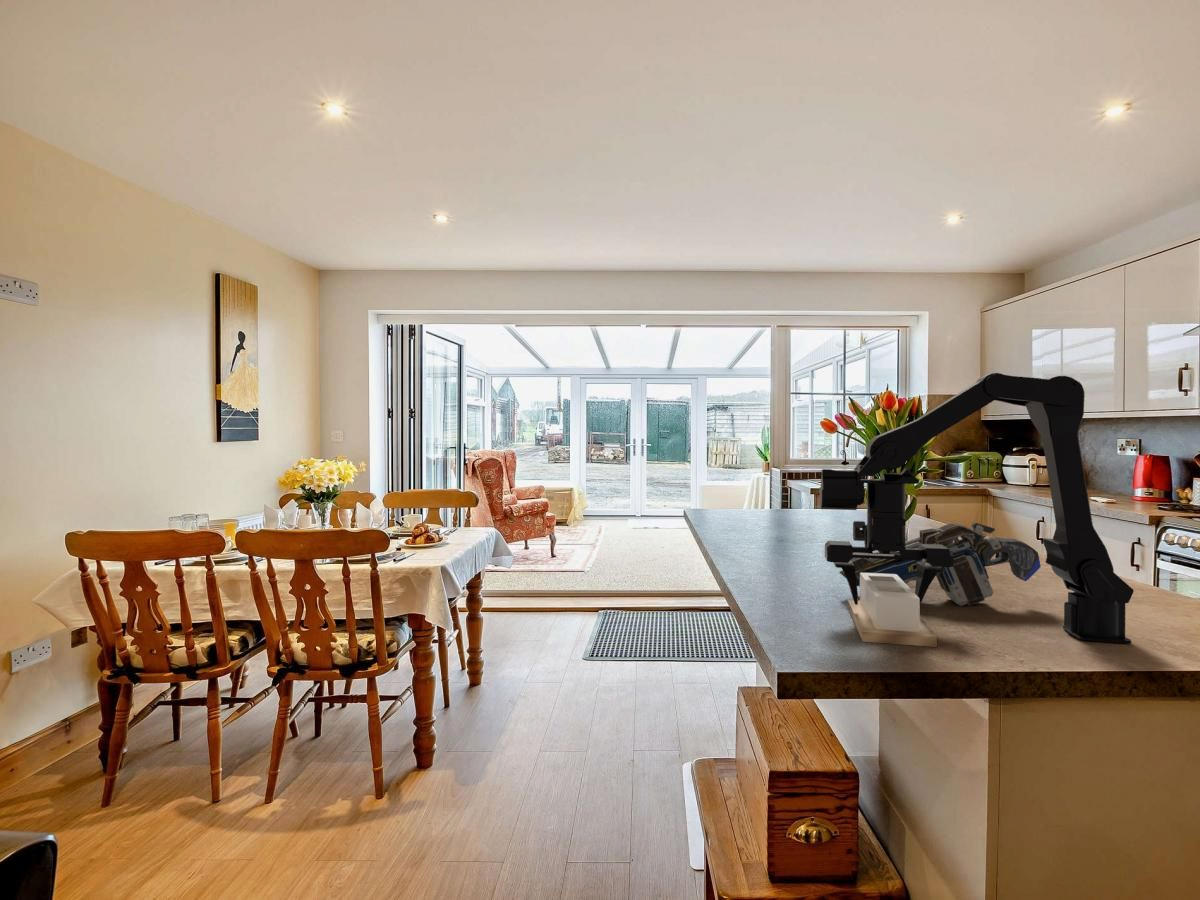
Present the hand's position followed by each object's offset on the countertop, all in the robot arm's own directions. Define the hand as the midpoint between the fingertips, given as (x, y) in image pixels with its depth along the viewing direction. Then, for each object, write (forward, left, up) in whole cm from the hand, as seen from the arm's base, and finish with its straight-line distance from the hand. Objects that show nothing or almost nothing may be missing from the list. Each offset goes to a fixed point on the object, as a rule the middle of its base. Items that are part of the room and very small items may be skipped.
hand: (886, 605), depth 104 cm
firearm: (-11, -17, -3) cm, 21 cm away
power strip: (0, +1, -1) cm, 1 cm away
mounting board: (0, +1, -3) cm, 3 cm away
